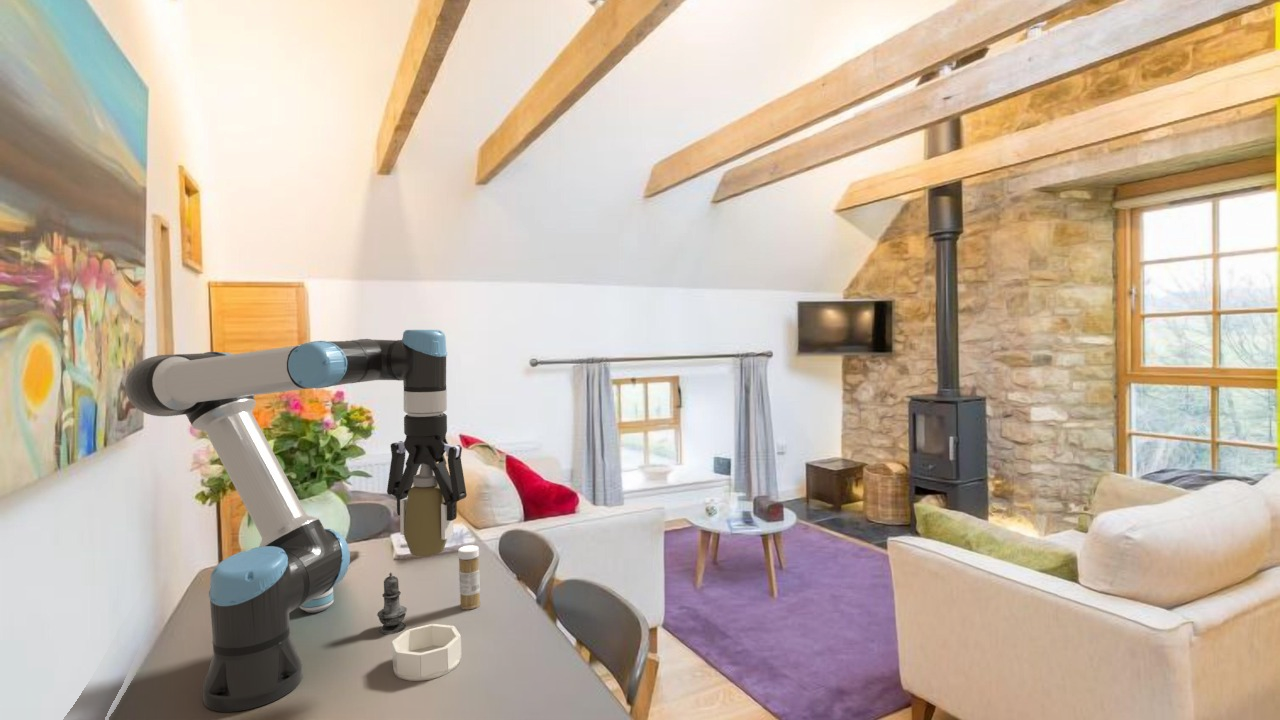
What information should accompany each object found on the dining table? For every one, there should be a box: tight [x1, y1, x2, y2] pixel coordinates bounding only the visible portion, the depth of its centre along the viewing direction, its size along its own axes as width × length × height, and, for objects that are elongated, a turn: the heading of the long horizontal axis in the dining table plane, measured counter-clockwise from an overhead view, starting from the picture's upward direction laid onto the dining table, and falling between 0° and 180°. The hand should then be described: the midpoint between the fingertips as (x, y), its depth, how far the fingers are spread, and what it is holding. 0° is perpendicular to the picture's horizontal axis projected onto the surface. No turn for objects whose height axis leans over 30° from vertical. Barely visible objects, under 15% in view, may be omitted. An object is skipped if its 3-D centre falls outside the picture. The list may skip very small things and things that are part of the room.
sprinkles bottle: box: [457, 544, 481, 610], centre depth 147 cm, size 5×5×13 cm
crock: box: [391, 623, 463, 682], centre depth 122 cm, size 12×12×5 cm
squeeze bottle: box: [403, 463, 448, 557], centre depth 120 cm, size 8×8×18 cm
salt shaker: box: [376, 572, 408, 635], centre depth 136 cm, size 6×6×12 cm
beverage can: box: [299, 587, 334, 614], centre depth 147 cm, size 7×7×12 cm
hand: (426, 534), depth 120 cm, fingers closed on squeeze bottle, 8 cm apart
